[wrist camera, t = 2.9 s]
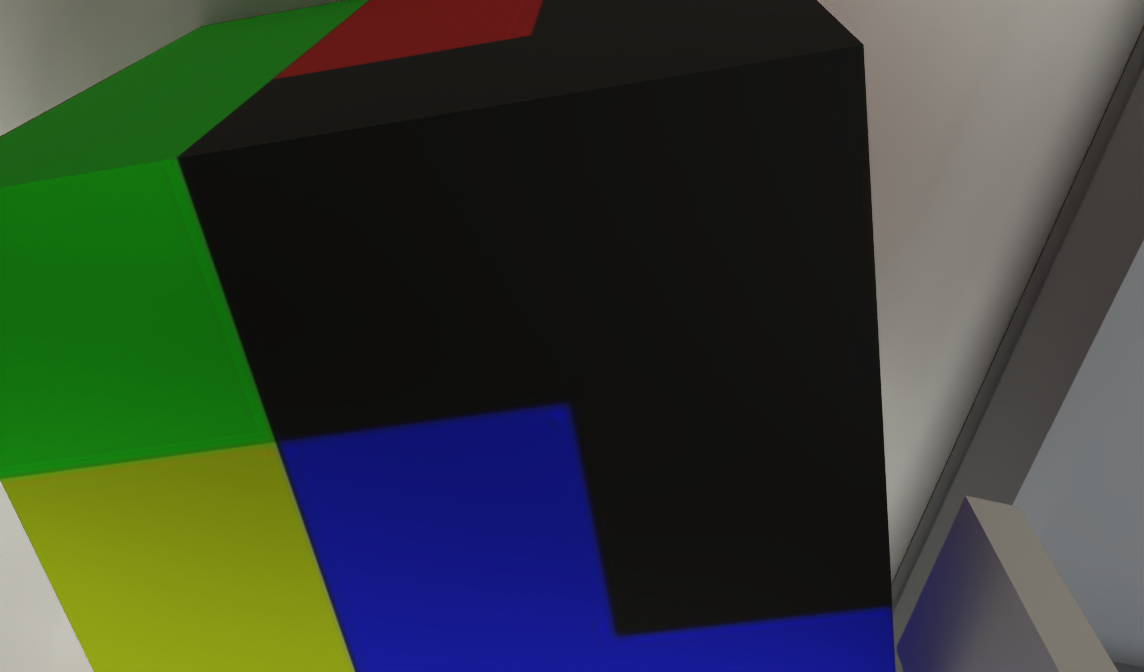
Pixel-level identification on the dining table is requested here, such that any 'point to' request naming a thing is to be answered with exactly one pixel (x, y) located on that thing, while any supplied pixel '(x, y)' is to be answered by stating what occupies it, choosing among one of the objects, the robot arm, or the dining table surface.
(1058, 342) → the tray
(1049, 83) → the dining table surface
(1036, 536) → the robot arm
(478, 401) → the puzzle toy
